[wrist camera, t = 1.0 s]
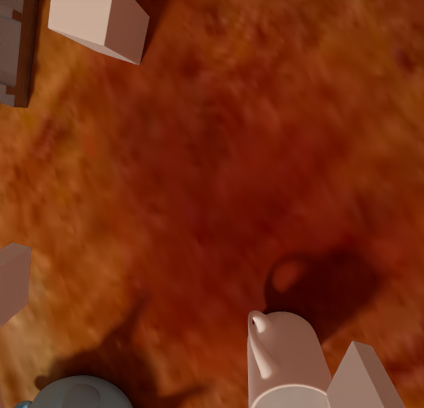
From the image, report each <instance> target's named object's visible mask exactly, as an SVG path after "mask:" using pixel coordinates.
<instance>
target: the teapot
mask: <svg viewBox="0 0 424 408" xmlns="http://www.w3.org/2000/svg"><path fill="white" fill-rule="evenodd" d="M14 408H133V407H132V405H131V403H130V401H129V399H128V398H127V396H126V395H125V394H124V393H123V392H122V391H121V390H120V389H119V388H118V387H116V386H115V385H113V384H112V383H110V382H108V381H106V380H104V379H101V378H98V377H94V376H88V375H77V376H71V377H67V378H63V379H60V380H57V381H55V382H52V383H51V384H49V385H47V386H46V387H45V388H43V389H42V390H41V391H40V392H39V393H38V395H37V396H36V397H35V399H34V400H33V402H31V401H22V402H20V403H18V404H17V405H16V406H15V407H14Z"/></svg>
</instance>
